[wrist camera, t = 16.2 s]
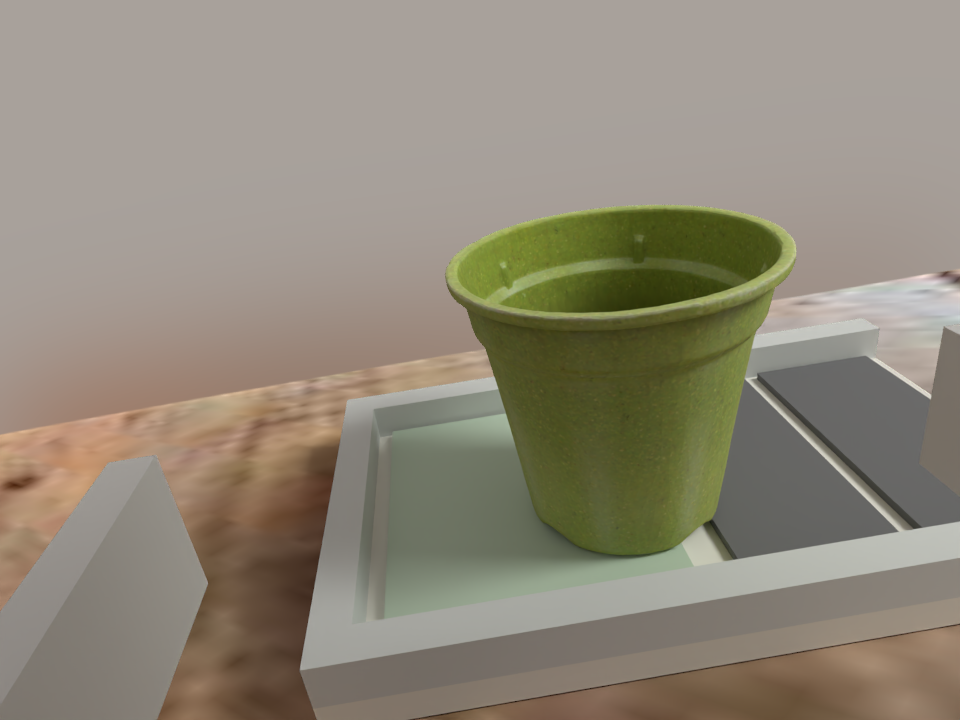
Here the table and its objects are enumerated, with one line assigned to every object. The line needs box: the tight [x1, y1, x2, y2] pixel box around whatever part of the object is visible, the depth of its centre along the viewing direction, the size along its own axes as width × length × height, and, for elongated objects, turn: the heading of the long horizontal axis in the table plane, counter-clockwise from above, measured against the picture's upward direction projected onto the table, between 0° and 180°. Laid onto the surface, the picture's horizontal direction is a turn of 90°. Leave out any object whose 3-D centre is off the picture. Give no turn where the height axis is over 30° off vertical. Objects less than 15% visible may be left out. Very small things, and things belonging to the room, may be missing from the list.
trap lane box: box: [300, 318, 960, 720], centre depth 24 cm, size 23×14×2 cm, turn 95°
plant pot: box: [445, 205, 796, 555], centre depth 21 cm, size 9×9×9 cm
